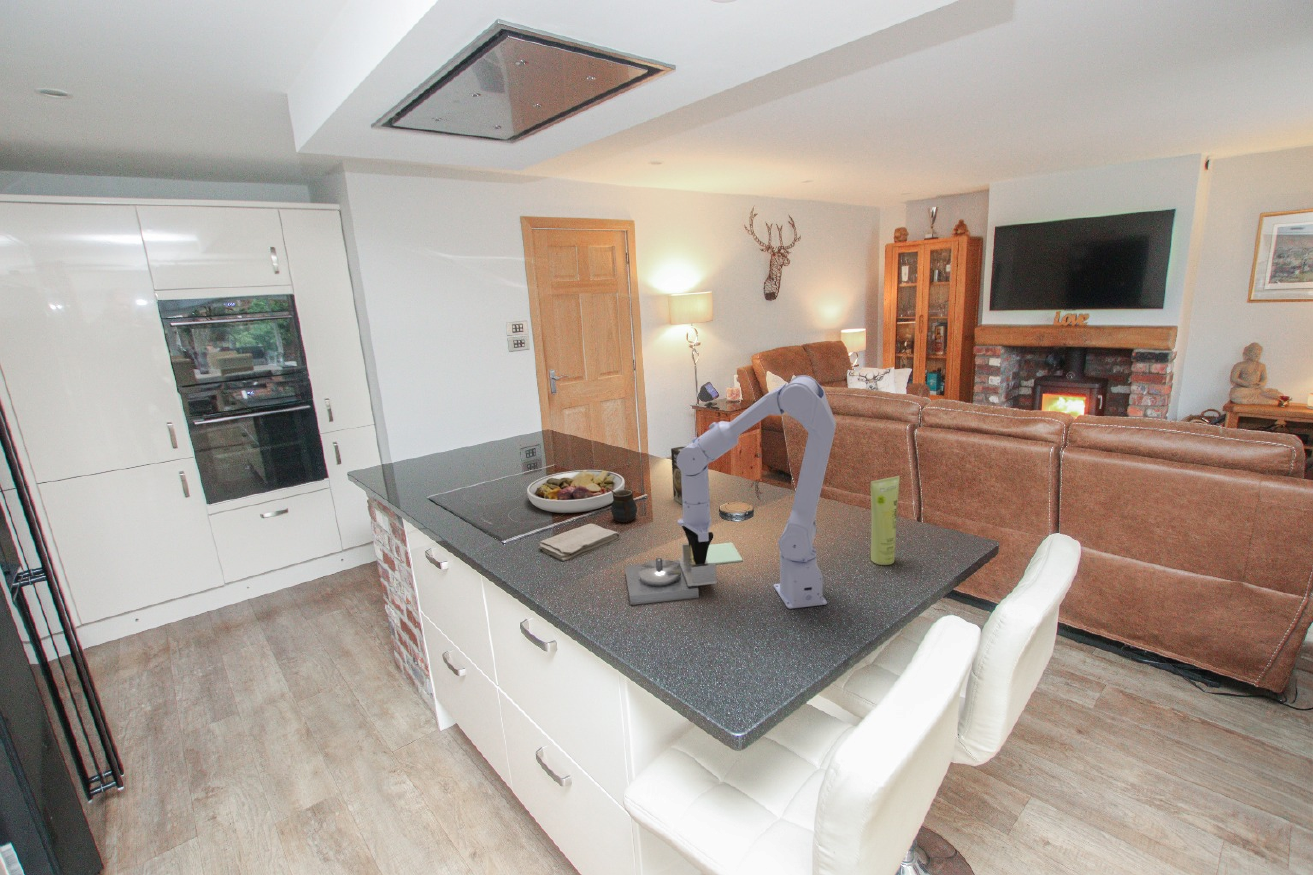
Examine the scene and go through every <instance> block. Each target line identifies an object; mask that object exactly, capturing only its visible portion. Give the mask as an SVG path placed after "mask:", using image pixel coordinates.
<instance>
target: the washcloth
mask: <svg viewBox="0 0 1313 875" xmlns="http://www.w3.org/2000/svg"><path fill="white" fill-rule="evenodd" d="M620 537H621V534H620V532H618V531H615V530H613V529H608V528H607V529H606V528H604V527H603V526H600V525H597V524H595V523H587V524H585V525H582V526H580V527H575V528H573V529H570V530H568V531H564V532H561V533H558V534H556V535H554V536H551V537H548V538H546V539H542V540H540V542H539V549H540V550H542V552H543V553H545V554H546V555H549V556H552V557H553V558H555V559H558V560H559V561H562V562H564V561H565V562H566V561H569V560H572V559H576V558H578V557H581V556H583V555H585V554H588V553H591V552H593V551H595V550H597V549H600V548H602V547H605V546H607V545H609V544H611V543H615V542H617V541H618V540H619V539H620Z"/></svg>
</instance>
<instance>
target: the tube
mask: <svg viewBox="0 0 1313 875" xmlns="http://www.w3.org/2000/svg"><path fill="white" fill-rule="evenodd" d="M900 479H901V478H900V475H896V476H892V477H887V478H882V479H881V478H880V479H877V480H872V481H870V504H871V506H870V507H871V509H870V510H871V514H870V515H871V523H870V524H871V528H870V529H871V534H870V535H871V537H870V538H871V540H870V541H871V542H870V560H871V561H872V563H874V564H876V565H879V566H880V565H881V566H889V565H892V564H894V563H895V554H896V536H897V535H896V534H897V517H898V504H899V491H900V490H899V489H900Z"/></svg>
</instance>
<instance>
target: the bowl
mask: <svg viewBox="0 0 1313 875" xmlns="http://www.w3.org/2000/svg"><path fill="white" fill-rule="evenodd" d="M625 484H626V483H625V478H624V477H623V476H622V475H621V474H618V473H616V472H613V471H608V470H603V469H600V470H599V469H581V470H580V469H578V470H570V471H563V472H557V473H554V474H549V475H546V476H543V477H540V478H538V479H536V480H534V481H532V482H531V483H530V484H529V485H528V486H527V488H526V490H527V491H526V494H527V497H528V500H529V501H530V503H531V504H532V505H534V506H535V508H536V507H537V508H538V509H540V510H543V511H546V512H551V513H556V514H557V513H558V514H572V513H574V514H575V513H583V512H589V511H594V510H598V509H600V508H603V507H606V506H609V505H612V502H613V493H612V492H611V491H610V490H609V489H608V488H610V489H611V490H612V491H613V492H615V491H618V490H625V486H626V485H625Z"/></svg>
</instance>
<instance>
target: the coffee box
mask: <svg viewBox="0 0 1313 875" xmlns="http://www.w3.org/2000/svg"><path fill="white" fill-rule="evenodd" d="M686 446H687V445H686ZM686 446H685V445H684V446H677V447H672V448H670V451H671V473H672V474H671V475H672V488H673V489H672V491H673V493H672V494H673V500H674V501H675V502H677V503H678V504H680V505H681V506H683V504H682V484H681V471H680V469H679V468H678V466H677V456H678V454H679V453H680V451H681V450H682V449H683V448H685V447H686Z"/></svg>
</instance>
